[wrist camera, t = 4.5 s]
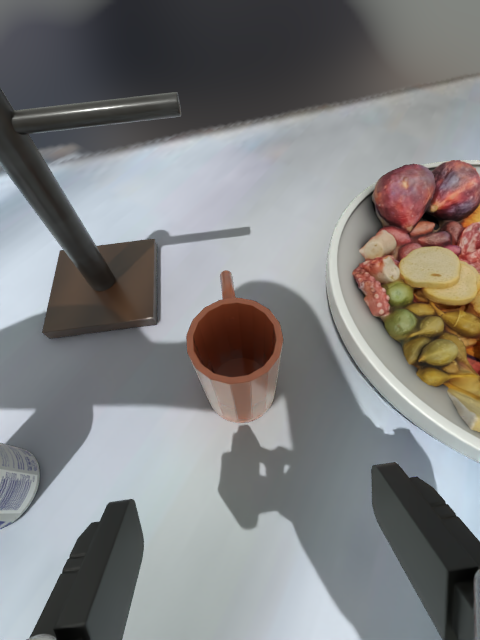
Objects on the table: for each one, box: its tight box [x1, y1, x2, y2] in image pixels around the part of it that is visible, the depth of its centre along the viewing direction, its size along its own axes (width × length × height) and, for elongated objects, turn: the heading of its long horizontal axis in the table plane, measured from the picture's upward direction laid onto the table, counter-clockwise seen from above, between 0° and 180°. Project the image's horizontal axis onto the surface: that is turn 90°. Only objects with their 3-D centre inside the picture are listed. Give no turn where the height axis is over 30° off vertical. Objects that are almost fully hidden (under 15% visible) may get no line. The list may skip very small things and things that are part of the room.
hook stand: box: [0, 88, 181, 339], centre depth 25 cm, size 16×10×18 cm, turn 97°
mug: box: [186, 270, 283, 423], centre depth 24 cm, size 9×6×9 cm, turn 7°
